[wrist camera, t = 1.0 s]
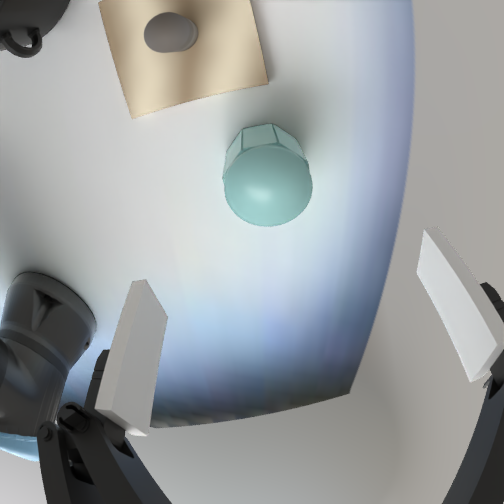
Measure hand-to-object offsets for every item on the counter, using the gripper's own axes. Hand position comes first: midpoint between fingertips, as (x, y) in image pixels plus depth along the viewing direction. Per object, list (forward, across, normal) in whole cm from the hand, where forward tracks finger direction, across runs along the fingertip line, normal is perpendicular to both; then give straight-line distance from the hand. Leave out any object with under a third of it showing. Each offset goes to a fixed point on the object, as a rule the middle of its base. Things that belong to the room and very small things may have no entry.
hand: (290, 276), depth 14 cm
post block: (+15, -4, +12) cm, 19 cm away
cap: (+15, 0, 0) cm, 15 cm away
